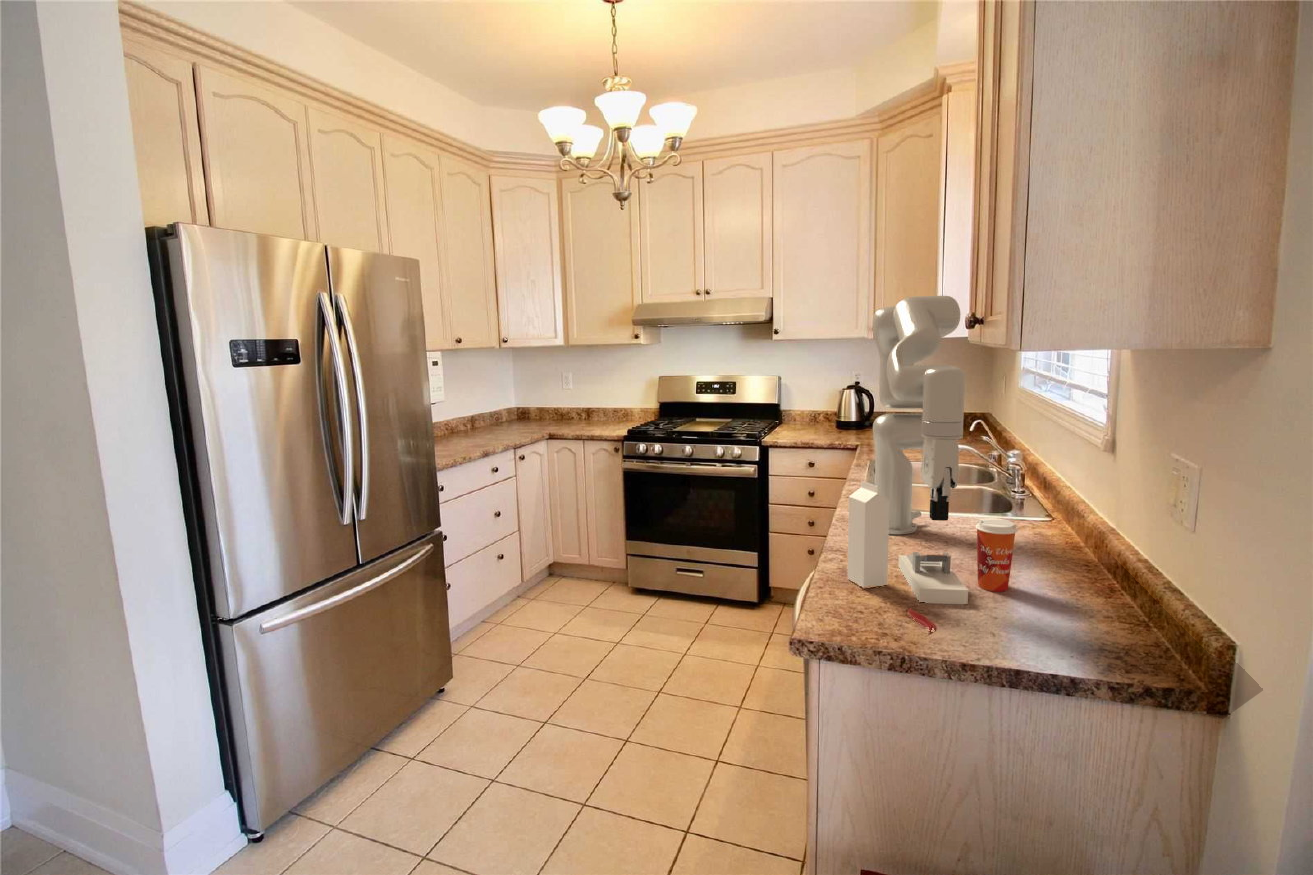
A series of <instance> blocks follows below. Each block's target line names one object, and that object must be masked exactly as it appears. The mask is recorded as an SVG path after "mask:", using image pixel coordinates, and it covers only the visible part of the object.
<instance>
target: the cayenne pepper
mask: <svg viewBox="0 0 1313 875" xmlns="http://www.w3.org/2000/svg"><path fill="white" fill-rule="evenodd" d="M908 611H909V614H911V617H910V618H912V619H913V618H915V619H914V620H915V621H916V622H918V623H920V624H921V625H923V626H924V627H929V630H930V631H928V633H929V632H931V630H932V628H934V630H935V629H937V627H936V624H935V623H934V622H932V621H930V620H929V618H928V617H926V616H925V615H923V614H921V613H919V612H917V611H915V610H914V609H912V608H911V607H910V608H909V609H908ZM910 618H909V619H910ZM915 621H914V622H915ZM916 622H915V623H916ZM918 623H917V624H918ZM920 624H919V625H920ZM921 625H920V626H921ZM923 626H922V627H923ZM924 627H923V628H924ZM935 631H936V630H935ZM931 633H932V632H931Z"/></svg>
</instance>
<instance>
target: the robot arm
mask: <svg viewBox="0 0 1313 875" xmlns="http://www.w3.org/2000/svg"><path fill="white" fill-rule="evenodd" d="M960 321H961V309H960V305H959V303H958V301H957V300H956V298H954V297H952V296H950V295H929V296H927V295H924V296H923V295H922V296H920V295H918V296H909V297H907V298H903V299H902V300H900V301H899V302H897V304H896V305H895V306H894V305H893V306H887V307H883V308H880V309H878V310H877V311H875V313H874V314H873V317H872V324H871V325H872V333H873V338H874V342H875V345H876V348H877V350H878V355H879V382H878V384H879V392H878V393H879V401H880V404H881V405H882V406H883V407H885V408H887V409H896V410H897V409H898V410H899V409H905V410H906V409H910V410H911V409H921V410H922V413H906V412H905V413H886V414H881V415H879V416H878V417H876V418H875V420H874V421H873V423H872V436H873V437H872V438H873V444H874V458H875V460H874V461H875V463H874V464H875V466H874V468H875V469H874V485H876V486H878V493H879V494H880V495H882V496H884V497H886V498H887V499H889V500H890V508H889V535H909V534H913V533H916V531H917V528H918V525H917V524H916V523H914V522H913V520H915V519H917V518H921V517H922V512H921V511H920V510H914V511H913V510H912V501H913V500H912V494H913V493H912V492H913V464H912V462H911V460H910V459H909V458H908V456H907V455H905V453H904V451H905V450H922V453H921V454H922V456H921V467H920V468H921V469H920V480H922V482H923V483H924V484H926V485H927V486H928V487H929V489H930V490H929V491H930V493H929V494H930V495H929V496H930V499H929V518H930V519H931V520H932V521H937V522H938V521H941V522H942V521H948V520H949V510H950V507H949V506H950V497H951V496H952V495H951V493H952V492H951V491H952V489H953V490H954V489H956V488H957V487H958V482H959V465H960V464H959V457H960V456H959V455H960V454H959V440H960V439H963V438H964V437H963V435H964V415H965V413H964V412H965V393H966V392H965V391H966V388H965V387H966V374H965V371H964V370H963V369H962V368H960V367H957V366H955V365H949V364H929V365H928V364H927V365H926V364H925V365H924V364H923V365H918V364H917V365H915V364H916V363H918V362H921V361H924V360H926V359H928V358H930V357H932V356H933V355H935V353H937V352H938V350H939V349H940V347H941V345H942V338H944V337H947V335H950V334H951V333H953V332H954V331H956V329H957V328H958V326H959V325H960Z"/></svg>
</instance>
